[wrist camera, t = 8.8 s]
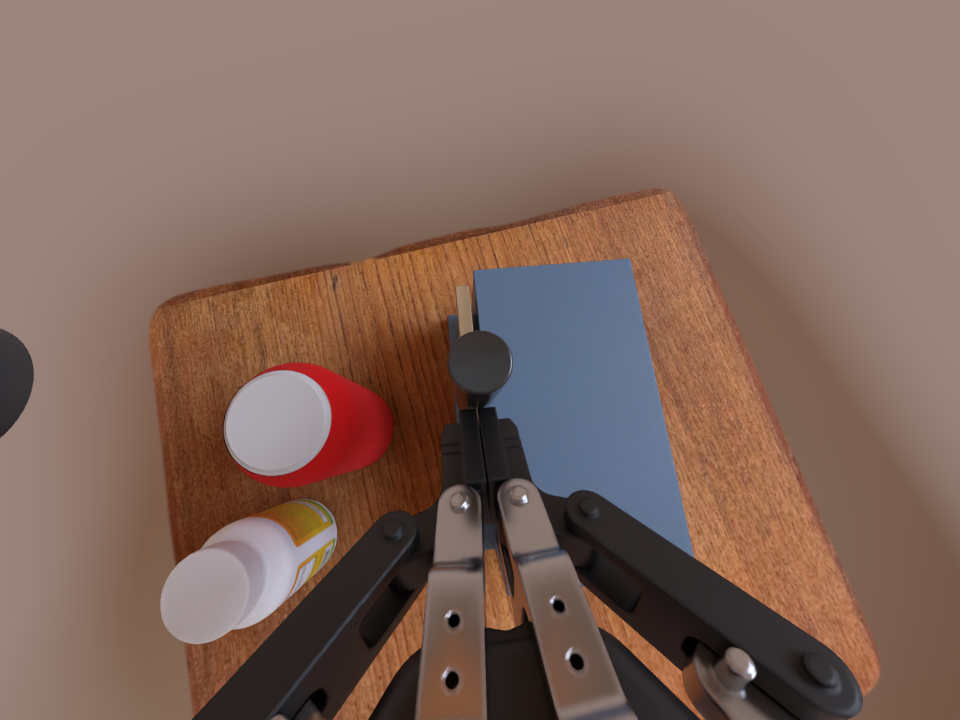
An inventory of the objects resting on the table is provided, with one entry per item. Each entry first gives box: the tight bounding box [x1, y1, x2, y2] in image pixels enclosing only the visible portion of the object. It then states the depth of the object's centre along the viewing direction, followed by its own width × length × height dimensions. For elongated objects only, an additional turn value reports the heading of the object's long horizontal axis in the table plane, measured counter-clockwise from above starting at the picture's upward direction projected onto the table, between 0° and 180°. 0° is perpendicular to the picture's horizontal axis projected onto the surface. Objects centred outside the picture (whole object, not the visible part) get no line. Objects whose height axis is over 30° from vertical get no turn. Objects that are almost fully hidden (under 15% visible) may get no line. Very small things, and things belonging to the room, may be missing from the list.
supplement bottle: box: [160, 499, 337, 644], centre depth 21 cm, size 5×5×10 cm
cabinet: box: [448, 259, 694, 596], centre depth 24 cm, size 12×18×9 cm, turn 6°
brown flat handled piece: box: [447, 285, 513, 417], centre depth 18 cm, size 2×8×18 cm, turn 6°
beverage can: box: [223, 363, 394, 488], centre depth 21 cm, size 6×6×12 cm
